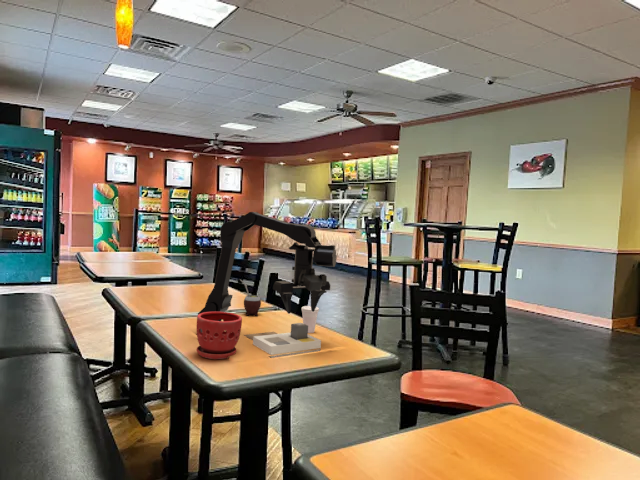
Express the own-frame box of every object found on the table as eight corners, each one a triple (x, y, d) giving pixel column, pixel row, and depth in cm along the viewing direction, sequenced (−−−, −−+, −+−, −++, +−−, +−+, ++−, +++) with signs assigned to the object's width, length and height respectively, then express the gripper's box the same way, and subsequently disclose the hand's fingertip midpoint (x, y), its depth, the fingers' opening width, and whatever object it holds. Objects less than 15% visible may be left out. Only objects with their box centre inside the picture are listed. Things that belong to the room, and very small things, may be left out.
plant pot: (201, 364, 132) (203, 321, 132) (190, 350, 144) (192, 311, 143) (246, 359, 138) (248, 319, 138) (232, 347, 150) (234, 309, 149)
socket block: (270, 358, 141) (271, 345, 141) (252, 347, 151) (253, 335, 151) (320, 351, 151) (321, 339, 151) (300, 341, 161) (301, 330, 161)
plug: (296, 348, 151) (297, 325, 150) (290, 345, 154) (291, 323, 154) (307, 347, 153) (308, 324, 153) (300, 343, 156) (301, 322, 156)
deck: (254, 344, 154) (254, 341, 154) (242, 337, 161) (242, 334, 161) (286, 340, 161) (286, 337, 161) (273, 334, 168) (273, 331, 168)
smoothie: (315, 337, 168) (317, 298, 167) (298, 335, 169) (300, 296, 168) (319, 333, 174) (321, 295, 173) (302, 331, 175) (304, 293, 174)
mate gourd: (263, 315, 198) (265, 279, 197) (251, 318, 191) (253, 281, 191) (249, 312, 202) (251, 277, 201) (237, 315, 195) (239, 279, 195)
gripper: (291, 268, 140) (289, 320, 141) (341, 266, 151) (339, 315, 152) (273, 263, 149) (271, 312, 150) (321, 262, 160) (319, 308, 161)
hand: (301, 312), depth 153 cm, fingers open, 9 cm apart
